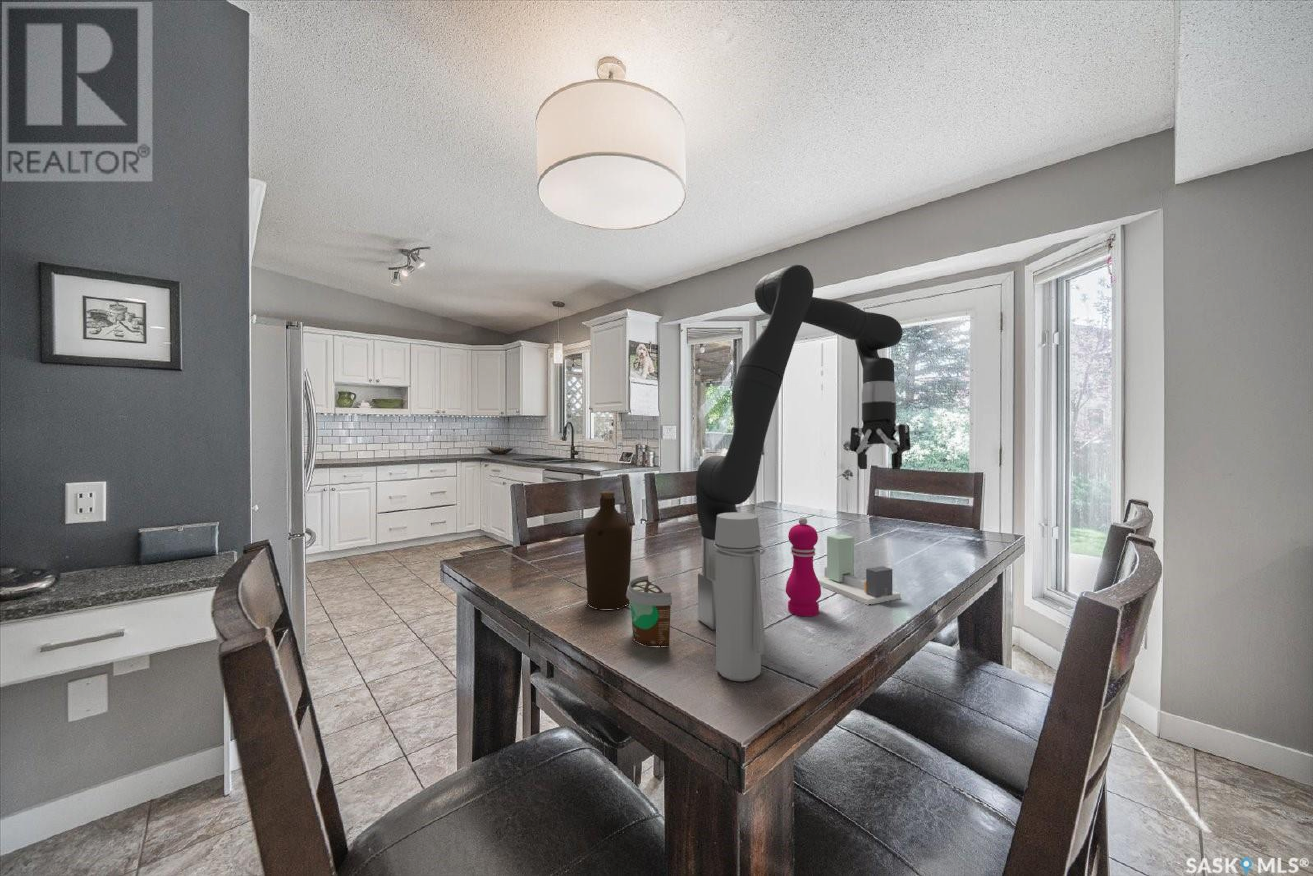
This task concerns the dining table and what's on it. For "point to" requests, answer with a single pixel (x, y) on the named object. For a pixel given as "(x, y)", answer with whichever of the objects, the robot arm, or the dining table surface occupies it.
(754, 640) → the water bottle
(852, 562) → the sleeve
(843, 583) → the rail base
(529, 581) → the dining table surface
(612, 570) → the olive oil
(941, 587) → the dining table surface
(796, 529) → the pepper mill
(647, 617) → the food container
